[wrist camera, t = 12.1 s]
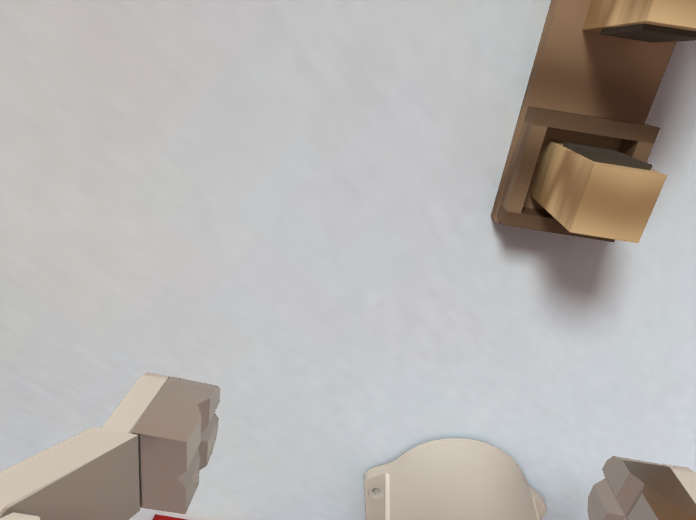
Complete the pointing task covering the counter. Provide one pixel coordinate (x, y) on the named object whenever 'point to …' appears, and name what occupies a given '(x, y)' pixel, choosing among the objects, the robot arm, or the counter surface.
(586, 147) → the block
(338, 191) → the counter surface
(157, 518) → the baking soda box
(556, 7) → the wooden block holder
